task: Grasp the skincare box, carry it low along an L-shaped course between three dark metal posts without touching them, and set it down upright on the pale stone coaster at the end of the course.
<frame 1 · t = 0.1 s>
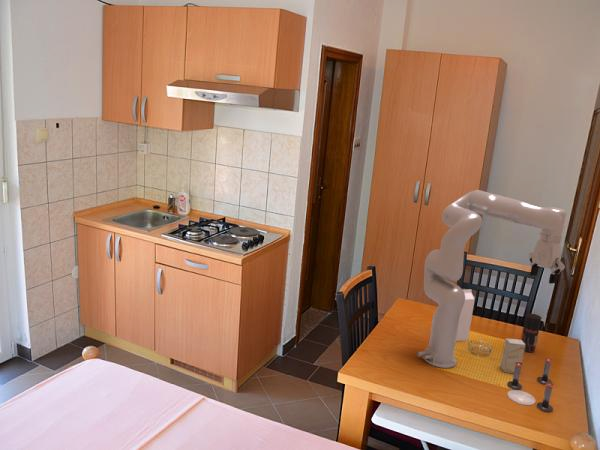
hand: (542, 279, 213), 31 cm above the table, fingers open, 9 cm apart
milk: (458, 338, 226), on the table
deodorant: (527, 349, 220), on the table
skincare box: (509, 370, 200), on the table
course: (533, 392, 186), on the table
pad: (521, 397, 181), on the table
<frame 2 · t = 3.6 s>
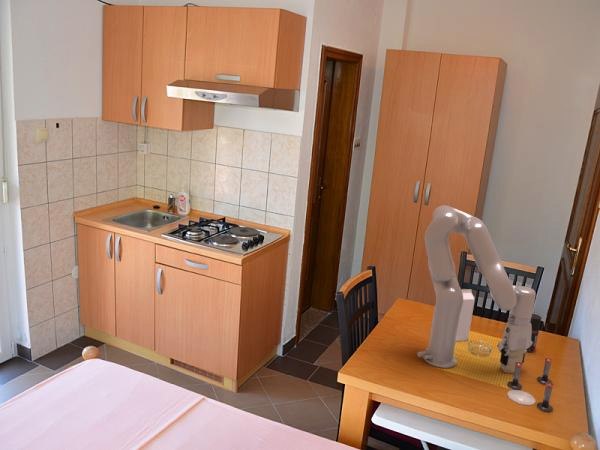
hand: (511, 362, 200), 3 cm above the table, fingers closed on skincare box, 7 cm apart
skincare box: (510, 370, 200), on the table, touching gripper
everything else where it was.
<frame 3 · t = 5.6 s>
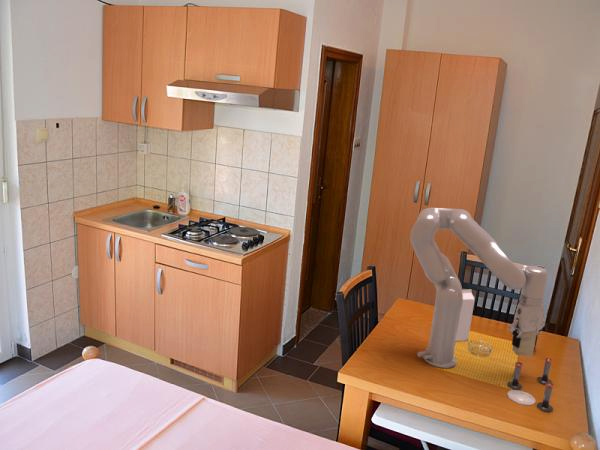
hand: (523, 344, 194), 12 cm above the table, fingers closed on skincare box, 7 cm apart
skincare box: (522, 353, 195), point 9 cm above the table, touching gripper
everything else where it was.
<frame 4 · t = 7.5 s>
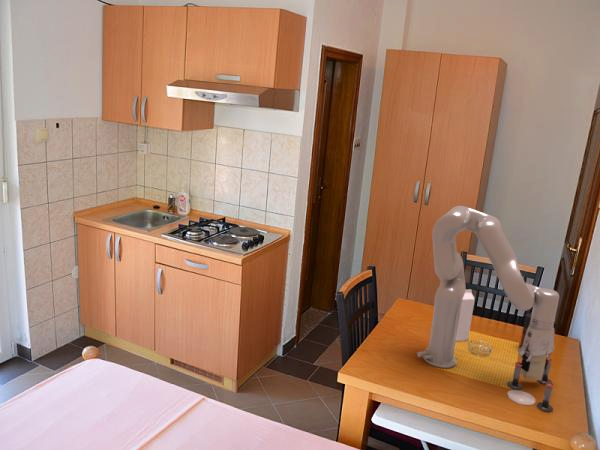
hand: (532, 368, 190), 6 cm above the table, fingers closed on skincare box, 7 cm apart
skincare box: (531, 377, 191), point 3 cm above the table, touching gripper
everything else where it was.
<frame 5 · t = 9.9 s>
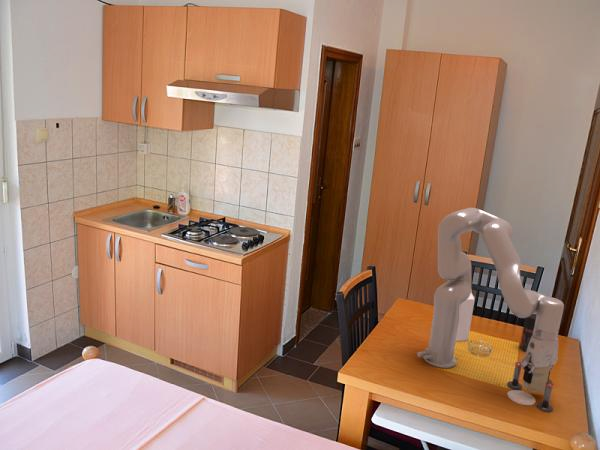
hand: (535, 380, 182), 6 cm above the table, fingers closed on skincare box, 7 cm apart
skincare box: (533, 389, 183), point 2 cm above the table, touching gripper
everything else where it was.
when the fingers open (5 cm above the table, at t = 11.8 s): skincare box stays where it is, resting on pad.
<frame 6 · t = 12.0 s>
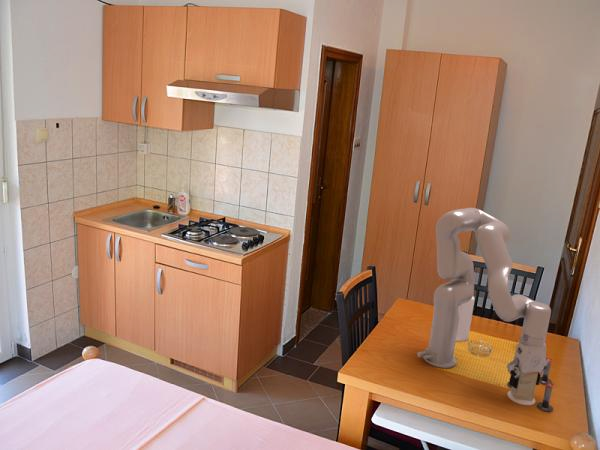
hand: (523, 384, 180), 5 cm above the table, fingers open, 9 cm apart
skincare box: (521, 397, 181), resting on pad
everything else where it was.
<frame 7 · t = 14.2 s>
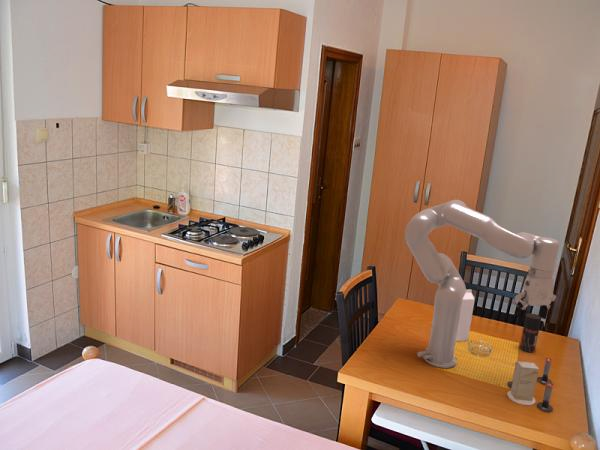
hand: (531, 318, 186), 25 cm above the table, fingers open, 9 cm apart
nothing on the table moved.
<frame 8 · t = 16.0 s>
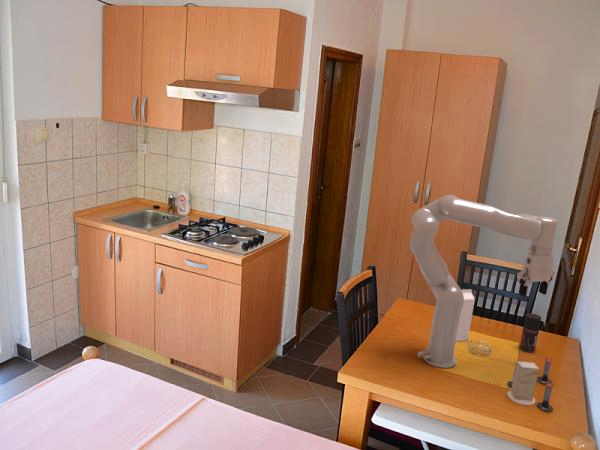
hand: (532, 294, 196), 30 cm above the table, fingers open, 9 cm apart
nothing on the table moved.
at the end: skincare box 0.3 cm from the pad (horizontally); skincare box tilted 0°; skincare box touching pad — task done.
